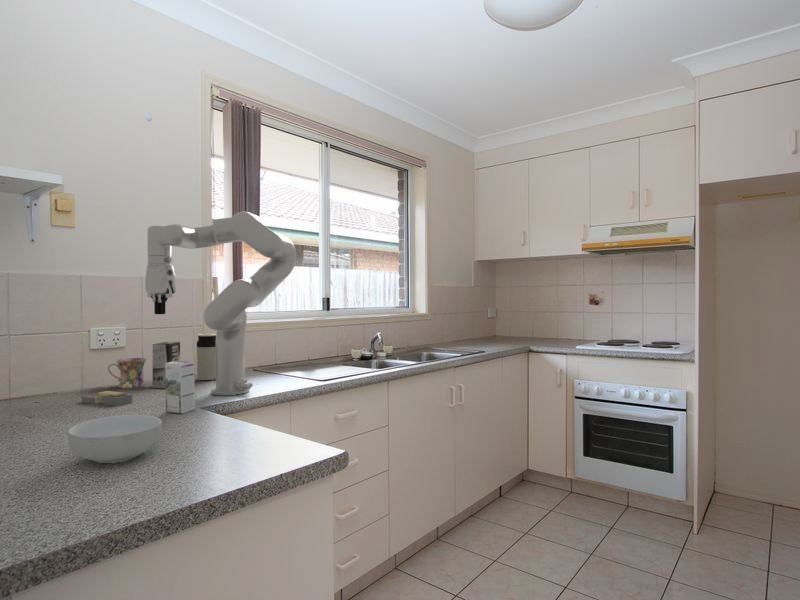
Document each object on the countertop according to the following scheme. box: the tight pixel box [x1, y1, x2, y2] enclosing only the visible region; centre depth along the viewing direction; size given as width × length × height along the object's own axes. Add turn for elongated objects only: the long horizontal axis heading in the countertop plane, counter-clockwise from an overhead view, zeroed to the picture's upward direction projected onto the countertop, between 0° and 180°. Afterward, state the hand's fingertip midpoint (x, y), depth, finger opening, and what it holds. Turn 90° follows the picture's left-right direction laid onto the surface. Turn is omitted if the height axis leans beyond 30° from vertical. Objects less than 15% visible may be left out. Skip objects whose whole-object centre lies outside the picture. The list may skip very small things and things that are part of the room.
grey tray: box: [81, 393, 133, 407], centre depth 149 cm, size 15×24×4 cm, turn 157°
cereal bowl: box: [67, 414, 163, 464], centre depth 102 cm, size 17×17×7 cm
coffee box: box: [151, 341, 181, 389], centre depth 181 cm, size 9×6×16 cm
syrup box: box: [165, 360, 196, 414], centre depth 142 cm, size 6×6×14 cm
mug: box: [107, 357, 147, 389], centre depth 175 cm, size 12×9×11 cm
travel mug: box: [196, 333, 217, 381], centre depth 196 cm, size 8×8×18 cm
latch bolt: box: [97, 390, 127, 404], centre depth 148 cm, size 8×3×3 cm, turn 67°
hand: (160, 314), depth 171 cm, fingers closed
